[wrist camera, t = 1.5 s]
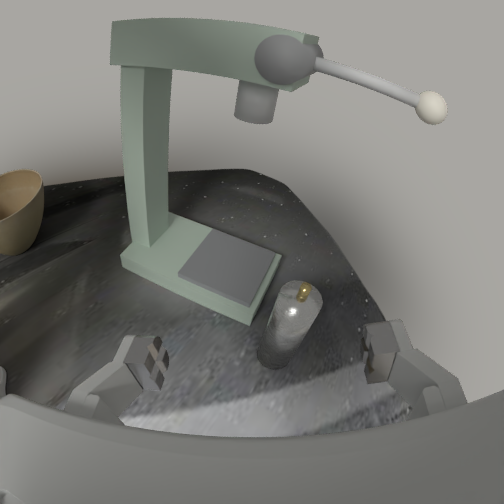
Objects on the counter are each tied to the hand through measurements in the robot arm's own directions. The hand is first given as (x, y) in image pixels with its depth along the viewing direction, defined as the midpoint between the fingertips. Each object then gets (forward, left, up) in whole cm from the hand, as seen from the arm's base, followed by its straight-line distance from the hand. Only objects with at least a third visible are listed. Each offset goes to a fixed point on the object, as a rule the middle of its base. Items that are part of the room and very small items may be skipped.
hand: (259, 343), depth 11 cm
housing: (+2, +16, -29) cm, 33 cm away
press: (-10, +26, -29) cm, 40 cm away
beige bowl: (-52, +12, -29) cm, 61 cm away
